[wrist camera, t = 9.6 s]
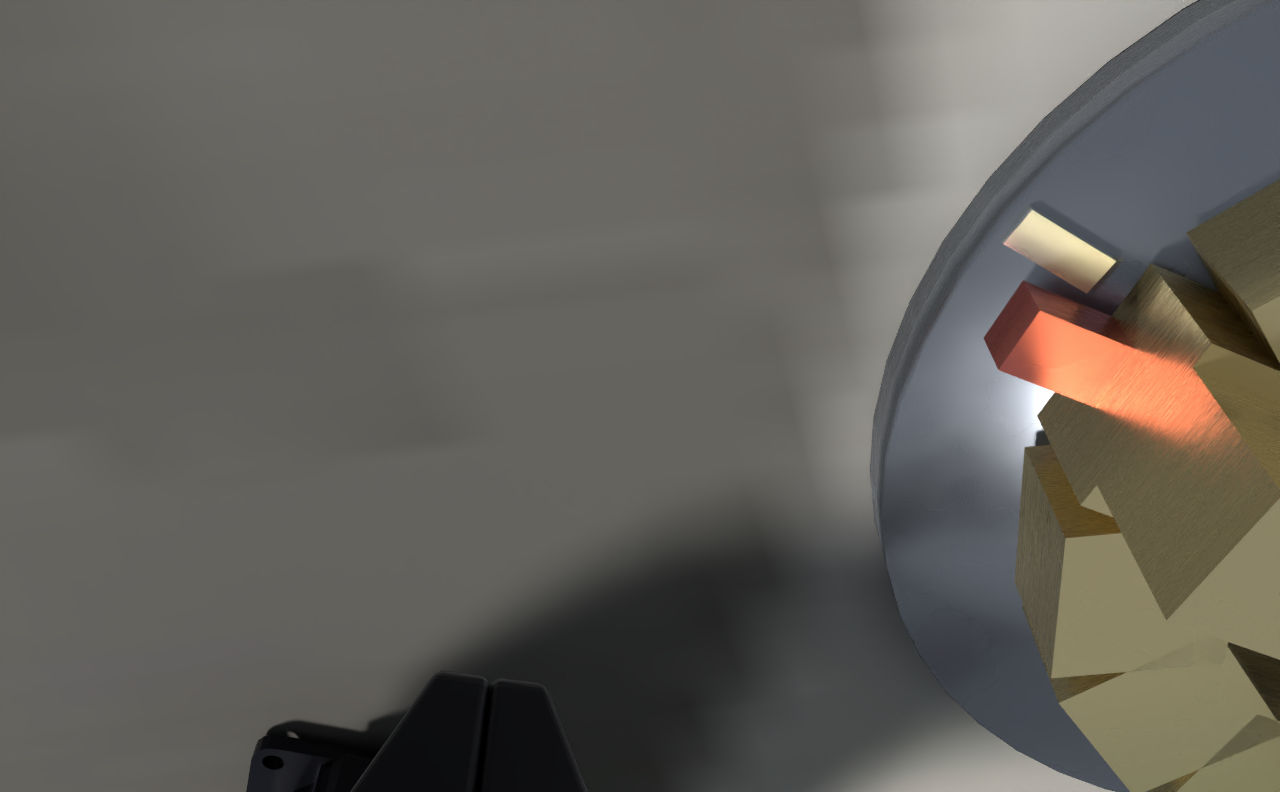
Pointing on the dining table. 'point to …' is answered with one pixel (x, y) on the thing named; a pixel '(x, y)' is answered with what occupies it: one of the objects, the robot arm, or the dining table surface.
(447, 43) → the dining table surface
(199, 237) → the dining table surface
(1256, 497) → the tan segmented ring
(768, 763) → the dining table surface
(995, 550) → the grey round tray
